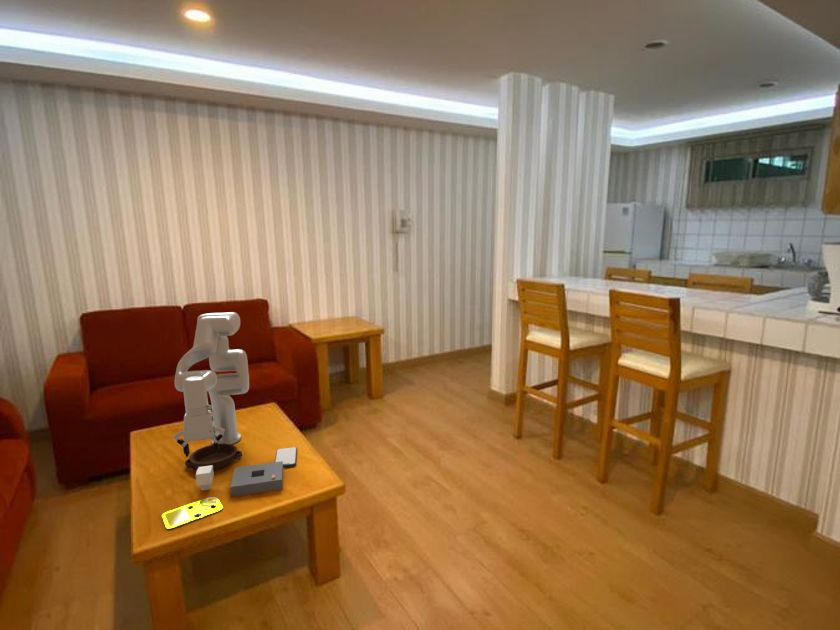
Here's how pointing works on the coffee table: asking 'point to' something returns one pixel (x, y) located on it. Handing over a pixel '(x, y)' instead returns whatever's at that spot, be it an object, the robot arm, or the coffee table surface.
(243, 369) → the robot arm
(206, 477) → the plug
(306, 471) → the coffee table surface
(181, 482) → the coffee table surface
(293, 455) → the smartphone
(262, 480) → the socket
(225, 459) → the dish
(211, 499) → the game console
